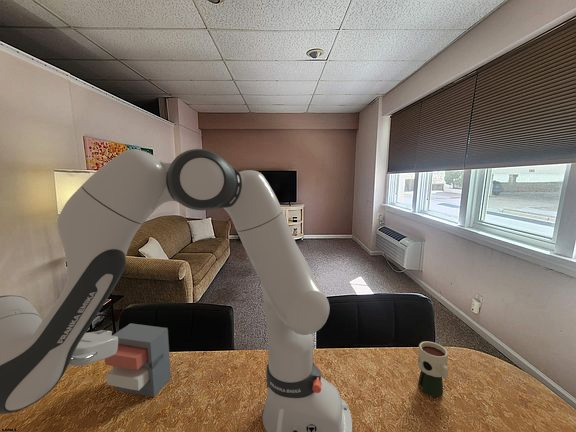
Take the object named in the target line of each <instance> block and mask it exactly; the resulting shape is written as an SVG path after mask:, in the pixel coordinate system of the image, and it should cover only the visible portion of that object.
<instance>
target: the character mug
mask: <svg viewBox="0 0 576 432" xmlns="http://www.w3.org/2000/svg"><path fill="white" fill-rule="evenodd" d="M417 351H418V352H417V353H418V358H417V365H418V366H417V367H418V368H419V371H420V373H419V378H418V382H417V387H418V389H420V387H421V392H422V393H423V394H424V395H426V396H428V397H430V398H439V397H442V396H443V393H444V384H443V379H446V380H447V379H448V377H449V368H448V360H449V352H448V350H447V349H446V347H444V346H442V345H441V344H439V343H436V342H433V341H421V342H420V343H419V344H418V350H417Z"/></svg>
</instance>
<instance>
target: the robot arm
mask: <svg viewBox="0 0 576 432" xmlns="http://www.w3.org/2000/svg"><path fill="white" fill-rule="evenodd" d="M173 201H174V202H177V203H178V204H180V205H181V206H184V207H185V208H188V209H190V210H193V211H194V210H195V211H211V210H218V209H223V210H224V211H226V212H227V214H228V216H229V217H230V218H231V221H232V223H233V225H234V229H235V230H236V233H237V234H238V237H239V239H240V242H241V243H242V246H243V248H244V250H245V252H246V255H247V256H248V259H249V260H250V263H251V265H252V266H253V268H254V271H255V272H256V275H257V277H258V278H259V281H260V284H261V291H262V299H263V300H262V301H263V309H264V318H265V324H266V333H267V345H268V346H267V353H268V359H267V361H268V362H267V365H266V370H265V371H266V375H265V376H266V377H265V379H266V388H267V393H266V400H265V405H264V408H263V412H262V423H263V427H264V429H265V432H353V420H352V414H351V411H350V408H349V405H348V404H347V402H346V401H345V400H344V399H343V398H341V395H340V392H339V390H338V388H337V387H336V386H335V385H334V384H332V383H331V382H329V381H328V380H326V378H324V377H322V371H321V364H320V362H318V366H316V364H315V363H314V362H313V359H314V356H313V355H314V338H313V337H314V336H313V334H314V333H316V332H318V331H320V330H321V329H322V328H323V326H325V324H326V323H327V320H328V318H329V315H330V310H331V309H330V303H329V299H328V298H327V296H326V293H324V290H322V288H321V286H320V285H319V283H318V281H317V278H316V277H315V275H314V273H313V271H312V268H311V267H310V265H309V264H308V263H309V262H307V260H306V258H305V256H304V255H303V253H302V251H301V250H300V248H299V246H298V245H297V242H296V240H295V237H294V235H293V233H292V230H291V228H290V226H289V223H288V220H287V219H286V216H285V214H284V212H283V208H282V206H281V204H280V202H279V200H278V198H277V196H276V194H275V191H274V190H273V189H272V187H271V185H270V183H269V182H268V180H267V179H266V177H265V176H264V174H262V172H259V171H258V170H252V169H250V170H249V169H248V170H247V169H246V170H241V171H239V170H237V168H235V167H233V166H232V165H231V164H229V163H228V162H227V161H226V160H225V159H223V158H222V157H221V156H220V155H218V154H217V153H215V152H214V151H210V150H208V149H204V148H192V149H188V150H186V151H183V152H181V153H180V154H178V155H177V156H176V157H175V158H174V160H172V162H165V161H162V160H161V159H159V158H158V157H156V156H155V155H153V154H151V153H150V152H147V151H144V150H141V149H137V148H136V149H135V148H133V149H132V148H131V149H127V150H125V151H122V152H121V153H119V154H117V155H116V156H114V157H113V158H112V159H110V160H109V161H107V162H106V163H105V164H104V165H102V166H101V167H100V168H98V170H96V171H95V172H94V173H93V174H92V175H91V176H90V177H88V178H87V180H86V181H85V182H84V183H82V185H81V186H80V187H79V188H77V190H76V191H75V192H74V193H72V195H71V196H70V197H69V198H68V200H67V201H66V202H65V204H64V205H63V207H62V209H61V211H60V213H59V214H58V217H57V231H58V234H59V239H60V241H61V244H62V248H63V252H64V256H65V261H66V269H67V270H66V271H67V273H66V281H65V285H64V287H63V289H62V290H63V291H62V292H61V293H60V296H58V298H57V300H56V301H55V302H54V304H53V305H52V307H51V308H50V310H49V311H48V313H47V314H46V315H45V317H44V318H42V316H41V315H40V314H39V312H38V311H37V309H36V308H35V307H34V306H33V304H31V302H30V301H29V300H28V299H27V298H26V297H24V296H20V295H12V294H11V295H0V415H5V414H6V415H7V414H14V413H17V412H19V411H22V410H25V409H27V408H29V407H31V406H32V405H34V404H35V403H37V402H39V401H40V400H41V399H43V398H44V397H45V396H46V395H48V394H49V393H50V392H51V391H52V390H53V389H54V388H55V387H56V386H57V384H58V383H59V382H60V380H61V379H62V378H63V376H64V375H65V373H66V371H67V369H68V367H83V366H87V365H91V364H94V363H97V362H101V361H103V360H105V359H106V358H108V357H111V356H113V355H115V354H116V352H117V349H118V337H117V336H112V335H113V331H111V330H104V329H101V330H97V331H91V332H87V331H88V330H89V328H90V326H91V325H92V323H93V322H94V320H95V319H96V317H97V315H98V314H99V312H100V310H101V309H102V308H103V306H104V305H105V303H106V302H107V300H108V299H109V297H110V295H111V294H112V293H113V290H114V289H115V287H116V285H117V284H118V282H119V280H120V278H122V275H123V273H124V272H125V271H124V270H125V269H126V262H127V261H126V260H127V259H126V258H127V254H128V250H129V248H130V246H131V243H132V242H133V239H134V237H135V235H136V234H137V232H138V231H139V229H140V228H141V227H142V225H143V224H144V223H145V222H147V220H148V219H149V217H150V216H151V215H152V214H153V212H155V211H156V210H157V209H158V208H159V207H161V206H162V205H163V204H165V203H168V202H173Z"/></svg>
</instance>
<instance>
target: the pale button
mask: <svg viewBox="0 0 576 432" xmlns="http://www.w3.org/2000/svg"><path fill="white" fill-rule="evenodd" d="M105 376H106V384H107V386H112V387H115V386H116V387H121V388H126V389H132V390H137V391H139V390H140V389H141V388H142V387H143V386H144V385H145V384H146V383H147V382H148V381H149V380H150V377H149V368H143V367H140V368H139V369H138V370H133V369H127V368H121V367H116V366H115V367H114V368H113V367H112V368H111V369H110V370H109V371H107V372H106V373H105Z"/></svg>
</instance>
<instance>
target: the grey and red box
mask: <svg viewBox="0 0 576 432" xmlns="http://www.w3.org/2000/svg"><path fill="white" fill-rule="evenodd" d="M112 336H117V337H118V344H121V345H127V346H134V347H141V348H147V351H148V361H147V362H145V363H144V364H143V365H142V366H141V367H143V368H149V377H150V380H149V381H148V382H147V383H146V384H145V385H144V386H143V387H142V388H141V389H140V390H139V391H137V390H132V389H126V388H121V387H116V386H114V388H115V389H114V390H116V391H121V392H125V393H131V394H135V395H141V396H146V397H152V398H156V396H157V395H158V394H159V393H160V391H161V390H162V389H163V388H164V387H165V386H166V385H167V383H168V382H169V381H170V380H171V378H172V377H171V376H172V375H171V374H172V373H171V363H170V361H171V360H170V344H169V329H168V327H161V326H155V325H154V326H153V325H145V324H139V323H138V324H137V323H129V324H128V325H126V326H125V327H122V328H121V329H119V330H118V331H117V332H115V333H114V334H112ZM114 367H115V366H112V368H114Z"/></svg>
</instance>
